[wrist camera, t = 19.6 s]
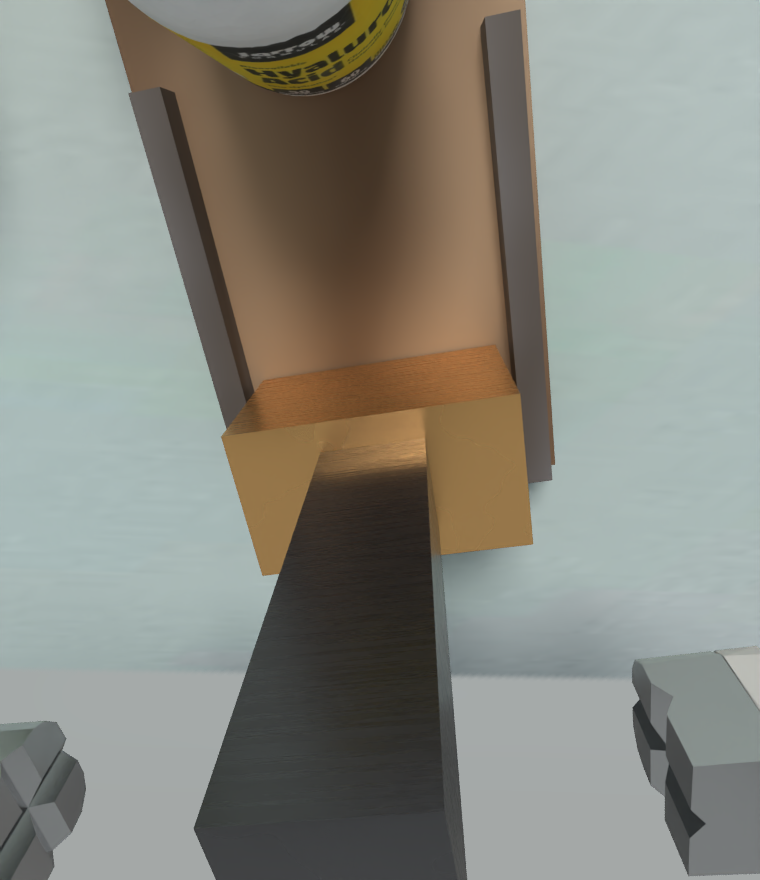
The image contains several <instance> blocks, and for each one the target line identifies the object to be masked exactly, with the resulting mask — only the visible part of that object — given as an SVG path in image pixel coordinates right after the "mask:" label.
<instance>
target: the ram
mask: <svg viewBox="0 0 760 880" xmlns="http://www.w3.org/2000/svg"><path fill="white" fill-rule="evenodd" d="M221 438H222V441H223V445H224V448H225V451H226V455H227V458H228V461H229V465H230V468H231V471H232V475H233V478H234V481H235V485H236V488H237V491H238V495H239V498H240V502H241V505H242V508H243V512H244V515H245V518H246V522H247V525H248V528H249V532H250V535H251V538H252V542H253V545H254V548H255V552H256V555H257V559H258V562H259V565H260V569H261V572H262V575H263V576H264V575H273V574H279V577H278V580H277V583H276V586H275V589H274V592H273V595H272V598H271V601H270V604H269V607H268V610H267V613H266V615H265V618H264V621H263V624H262V627H261V630H260V633H259V636H258V639H257V642H256V645H255V648H254V651H253V654H252V657H251V660H250V663H249V666H248V669H247V672H246V675H245V678H244V681H243V684H242V687H241V690H240V693H239V696H238V699H237V702H236V705H235V708H234V711H233V714H232V717H231V719H230V722H229V725H228V728H227V731H226V734H225V737H224V740H223V743H222V746H221V749H220V752H219V755H218V758H217V761H216V764H215V767H214V770H213V774H212V776H211V779H210V782H209V785H208V788H207V791H206V794H205V797H204V800H203V803H202V806H201V809H200V812H199V814H198V817H197V820H196V823H195V826H194V831H195V833H196V835H197V837H198V840H199V842H200V844H201V847H202V849H203V851H204V853H205V856H206V858H207V860H208V862H209V865H210V867H211V869H212V872H213V874H214V876H215V878H216V880H467V873H466V861H465V848H464V835H463V823H462V811H461V798H460V785H459V772H458V760H457V748H456V735H455V722H454V709H453V697H452V685H451V672H450V659H449V646H448V634H447V621H446V609H445V596H444V583H443V571H442V558H441V555H445V554H453V553H462V552H471V551H479V550H488V549H496V548H505V547H514V546H522V545H531V544H533V537H532V525H531V514H530V502H529V490H528V478H527V467H526V455H525V443H524V432H523V420H522V408H521V396H520V392H519V390H518V388H517V386H516V384H515V382H514V380H513V378H512V377H511V375H510V373H509V371H508V369H507V367H506V365H505V363H504V361H503V359H502V357H501V355H500V353H499V351H498V349H497V347H496V345H489V346H482V347H476V348H469V349H463V350H456V351H450V352H443V353H437V354H430V355H424V356H417V357H411V358H404V359H398V360H391V361H385V362H378V363H372V364H365V365H359V366H352V367H346V368H339V369H333V370H326V371H320V372H313V373H307V374H300V375H294V376H287V377H281V378H274V379H268V380H263V381H262V383H261V384H260V385H259V387H258V388H257V389H256V391H255V392H254V393H253V395H252V396H251V398H250V399H249V400H248V402H247V403H246V404H245V406H244V407H243V408H242V410H241V411H240V412H239V414H238V415H237V416H236V418H235V419H234V420H233V422H232V423H231V424H230V426H229V427H228V428H227V430H226V431H225V432H224V434H223V435H222V436H221Z"/></svg>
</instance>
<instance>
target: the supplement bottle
mask: <svg viewBox="0 0 760 880" xmlns="http://www.w3.org/2000/svg"><path fill="white" fill-rule="evenodd" d="M128 1H130V2H131V3H132V4H133V5H134V6H136V7H137V8H138V9H139V10H141V11H142V12H143V13H144V14H146V15H147V16H148V17H149V18H151V19H152V20H154V21H156V22H157V23H159V24H160V25H162V26H163V27H165V28H166V29H168V30H169V31H171V32H173V33H174V34H176V35H177V36H179V37H180V38H182V39H183V40H185V41H187V42H188V43H190V44H191V45H193V46H194V47H196V48H197V49H199V50H201V51H202V52H204V53H205V54H207V55H208V56H210V57H212V58H213V59H215V60H216V61H218V62H219V63H221V64H222V65H224V66H226V67H227V68H229V69H230V70H232V71H233V72H235V73H236V74H238V75H239V76H241V77H242V78H244V79H246V80H247V81H249V82H251V83H253V84H255V85H257V86H259V87H261V88H264V89H266V90H270V91H273V92H277V93H281V94H285V95H291V96H315V95H320V94H325V93H328V92H332V91H335V90H337V89H340V88H342V87H344V86H346V85H348V84H350V83H351V82H353V81H355V80H356V79H358V78H359V77H361V76H362V75H363V74H364V73H366V72H367V71H368V70H369V69H370V68H371V67H372V66H373V65H374V64H375V63H376V62H377V61H378V60H379V59H380V57H381V56H382V55H383V54H384V52H385V51H386V50H387V48H388V47H389V45H390V43H391V42H392V40H393V38H394V37H395V35H396V33H397V31H398V29H399V26H400V24H401V22H402V20H403V17H404V14H405V11H406V7H407V4H408V1H409V0H128Z"/></svg>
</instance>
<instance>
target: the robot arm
mask: <svg viewBox="0 0 760 880" xmlns="http://www.w3.org/2000/svg"><path fill="white" fill-rule="evenodd" d="M632 683H633V685H634V687H635V689H636V692H637V694H638V696H639V698H640V700H639V701H638V702H637V703H636V704H635V706H634V707H633V725H634V726H633V727H634V732H635V738H636V742H637V748H638V752H639V755H640V758H641V761H642V764H643V767H644V770H645V772H646V775H647V777H648V780H649V782H650V784H651V786H652V787H654V788H655V789H656V790H657V791H659V792H660V793H661V794H662V795H664V796H665V821H666V824H667V826H668V828H669V831H670V833H671V836H672V838H673V840H674V842H675V845H676V847H677V850H678V852H679V855H680V857H681V859H682V862H683V864H684V866H685V869H686V871H687V874H688V876H705V875H731V874H756V873H757V874H758V873H760V648H758V647H757V646H752V647H743V648H734V649H725V650H716V651H714V652H711V651H708V652H699V653H690V654H681V655H672V656H664V657H655V658H646V659H637V660H635V661H634V664H633V667H632ZM65 741H66V737H65V736H64V734H63V732H62V730H61V729H60V727H59V725H58V724H57V722H50V721H38V722H25V723H12V724H0V880H47V879H48V878H49V876H50V874H51V872H52V870H53V868H54V859H53V849H54V848H56V847H57V846H58V845H59V844H60V843H61V842H62V841H63V840H64V839H65V838H66V837H68V835H70V834H71V832H72V831H73V828H74V826H75V825H76V822H77V820H78V818H79V816H80V814H81V812H82V807H83V802H84V797H85V791H86V786H85V779H84V773H83V770H82V769H81V766H80V764H79V762H78V760H76V759H75V758H73V757H72V756H70V755H68V754H67V753H65V752H64V751H62V749H63V746H64V743H65Z"/></svg>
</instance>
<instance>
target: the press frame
mask: <svg viewBox="0 0 760 880" xmlns="http://www.w3.org/2000/svg"><path fill="white" fill-rule="evenodd" d="M105 2H106V5H107V8H108V12H109V15H110V19H111V22H112V26H113V29H114V33H115V36H116V39H117V43H118V46H119V50H120V53H121V57H122V60H123V64H124V67H125V70H126V74H127V77H128V81H129V84H130V88H131V91H132V93H129V97H130V100H131V104H132V107H133V111H134V114H135V117H136V121H137V124H138V128H139V131H140V134H141V138H142V141H143V145H144V148H145V152H146V155H147V158H148V162H149V165H150V169H151V172H152V175H153V179H154V182H155V186H156V189H157V193H158V196H159V199H160V203H161V206H162V210H163V213H164V216H165V220H166V223H167V227H168V230H169V234H170V237H171V240H172V244H173V247H174V251H175V254H176V258H177V261H178V264H179V268H180V271H181V275H182V278H183V281H184V285H185V288H186V292H187V295H188V299H189V302H190V305H191V309H192V312H193V316H194V319H195V322H196V326H197V329H198V333H199V336H200V340H201V343H202V346H203V350H204V353H205V357H206V360H207V363H208V367H209V370H210V374H211V377H212V381H213V384H214V387H215V391H216V394H217V398H218V401H219V404H220V408H221V411H222V415H223V418H224V422H225V425H226V428H228V427H229V426H230V424H231V423H232V422H233V420H234V419H235V418H236V416H237V415H238V414H239V412H240V411H241V410H242V408H243V407H244V406H245V404H246V403H247V402H248V400H249V399H250V398H251V396H252V395H253V393H254V392H255V391H256V389H257V388H258V387H259V385H260V384H261V383H262V381H263V380H268V379H274V378H281V377H287V376H294V375H300V374H307V373H313V372H320V371H326V370H333V369H339V368H346V367H352V366H359V365H365V364H372V363H378V362H385V361H391V360H398V359H404V358H411V357H417V356H424V355H430V354H437V353H443V352H450V351H456V350H463V349H469V348H476V347H482V346H489V345H496V347H497V349H498V351H499V353H500V355H501V357H502V359H503V361H504V363H505V365H506V367H507V369H508V371H509V373H510V375H511V377H512V378H513V380H514V382H515V384H516V386H517V388H518V390H519V392H520V396H521V408H522V420H523V432H524V443H525V455H526V467H527V478H528V483H534V482H541V481H549V480H552V469H551V465H555V456H554V440H553V425H552V409H551V394H550V378H549V363H548V347H547V332H546V317H545V301H544V286H543V270H542V255H541V239H540V224H539V208H538V193H537V177H536V162H535V147H534V131H533V116H532V100H531V85H530V69H529V54H528V38H527V23H526V8H525V0H409V1H408V4H407V7H406V11H405V14H404V17H403V20H402V22H401V24H400V26H399V29H398V31H397V33H396V35H395V37H394V38H393V40H392V42H391V43H390V45H389V47H388V48H387V50H386V51H385V52H384V54H383V55H382V56H381V57H380V59H379V60H378V61H377V62H376V63H375V64H374V65H373V66H372V67H371V68H370V69H369V70H368V71H367V72H366V73H364V74H363V75H362V76H361V77H359V78H358V79H356V80H355V81H353V82H351V83H350V84H348V85H346V86H344V87H342V88H340V89H337V90H335V91H332V92H328V93H325V94H320V95H315V96H291V95H285V94H281V93H277V92H273V91H270V90H266V89H264V88H261V87H259V86H257V85H255V84H253V83H251V82H249V81H247V80H246V79H244V78H242V77H241V76H239V75H238V74H236V73H235V72H233V71H232V70H230V69H229V68H227V67H226V66H224V65H222V64H221V63H219V62H218V61H216V60H215V59H213V58H212V57H210V56H208V55H207V54H205V53H204V52H202V51H201V50H199V49H197V48H196V47H194V46H193V45H191V44H190V43H188V42H187V41H185V40H183V39H182V38H180V37H179V36H177V35H176V34H174V33H173V32H171V31H169V30H168V29H166V28H165V27H163V26H162V25H160V24H159V23H157V22H156V21H154V20H152V19H151V18H149V17H148V16H147V15H146V14H144V13H143V12H142V11H141V10H139V9H138V8H137V7H136V6H134V5H133V4H132V3H131V2H130V1H128V0H105Z"/></svg>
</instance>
